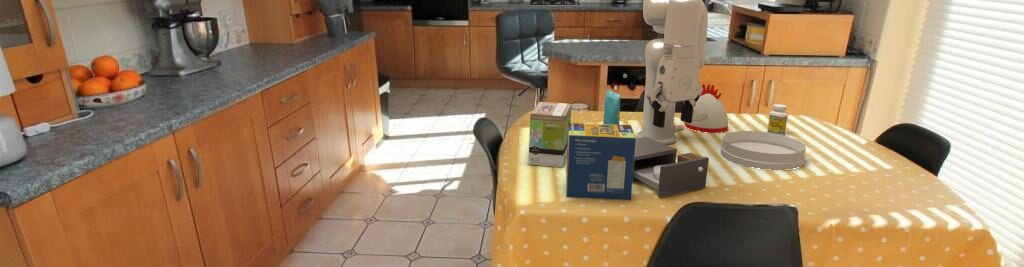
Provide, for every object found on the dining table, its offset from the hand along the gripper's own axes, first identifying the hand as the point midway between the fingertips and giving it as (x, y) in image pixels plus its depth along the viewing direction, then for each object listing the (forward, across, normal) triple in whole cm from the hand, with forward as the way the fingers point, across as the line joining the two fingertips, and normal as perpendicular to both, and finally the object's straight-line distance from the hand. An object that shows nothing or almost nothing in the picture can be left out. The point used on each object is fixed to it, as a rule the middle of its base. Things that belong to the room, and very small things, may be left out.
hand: (672, 123), depth 133 cm
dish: (+17, +40, +4) cm, 43 cm away
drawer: (+16, 0, 0) cm, 16 cm away
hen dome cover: (+16, +50, +34) cm, 63 cm away
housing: (+16, 0, +11) cm, 19 cm away
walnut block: (+16, +11, +3) cm, 20 cm away
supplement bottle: (+16, +65, +18) cm, 69 cm away
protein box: (+16, -18, +5) cm, 24 cm away
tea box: (+16, -15, +31) cm, 38 cm away
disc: (+14, 0, 0) cm, 14 cm away
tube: (+16, 0, +23) cm, 28 cm away
